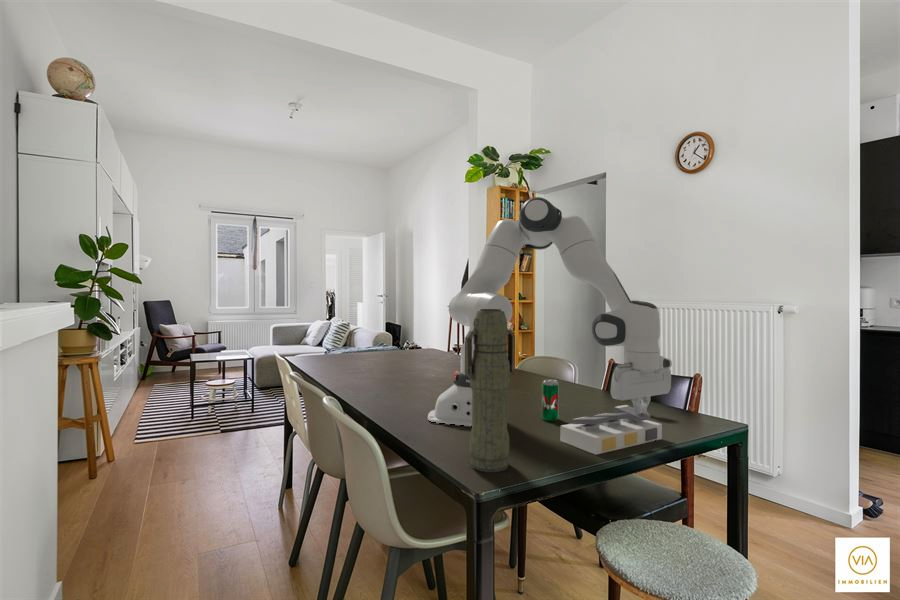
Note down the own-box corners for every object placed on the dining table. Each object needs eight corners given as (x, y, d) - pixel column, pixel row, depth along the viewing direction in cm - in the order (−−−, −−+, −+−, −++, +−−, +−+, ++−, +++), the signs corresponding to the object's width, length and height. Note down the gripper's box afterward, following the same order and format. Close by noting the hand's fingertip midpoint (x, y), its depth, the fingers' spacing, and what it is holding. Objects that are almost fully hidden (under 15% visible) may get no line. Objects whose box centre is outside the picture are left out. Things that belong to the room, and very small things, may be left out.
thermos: (456, 463, 105) (457, 308, 105) (498, 454, 111) (500, 308, 111) (477, 476, 98) (478, 310, 97) (522, 466, 103) (523, 309, 103)
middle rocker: (617, 420, 118) (616, 414, 118) (594, 420, 125) (593, 415, 125) (630, 417, 121) (629, 412, 121) (607, 417, 127) (606, 413, 128)
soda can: (559, 418, 144) (559, 379, 144) (557, 422, 139) (558, 382, 139) (542, 416, 146) (543, 378, 145) (540, 421, 141) (540, 381, 141)
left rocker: (595, 424, 114) (594, 419, 114) (572, 424, 121) (571, 419, 121) (609, 421, 117) (608, 416, 117) (586, 421, 123) (585, 416, 124)
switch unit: (596, 455, 111) (596, 433, 111) (560, 440, 122) (560, 421, 122) (662, 439, 124) (662, 420, 124) (624, 427, 134) (624, 410, 134)
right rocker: (637, 421, 122) (638, 416, 122) (613, 411, 129) (614, 406, 129) (650, 419, 125) (650, 414, 125) (625, 409, 132) (626, 404, 132)
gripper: (624, 366, 116) (624, 421, 116) (675, 360, 126) (675, 411, 127) (605, 362, 122) (604, 415, 122) (655, 357, 132) (654, 406, 132)
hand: (640, 413), depth 124 cm, fingers closed
